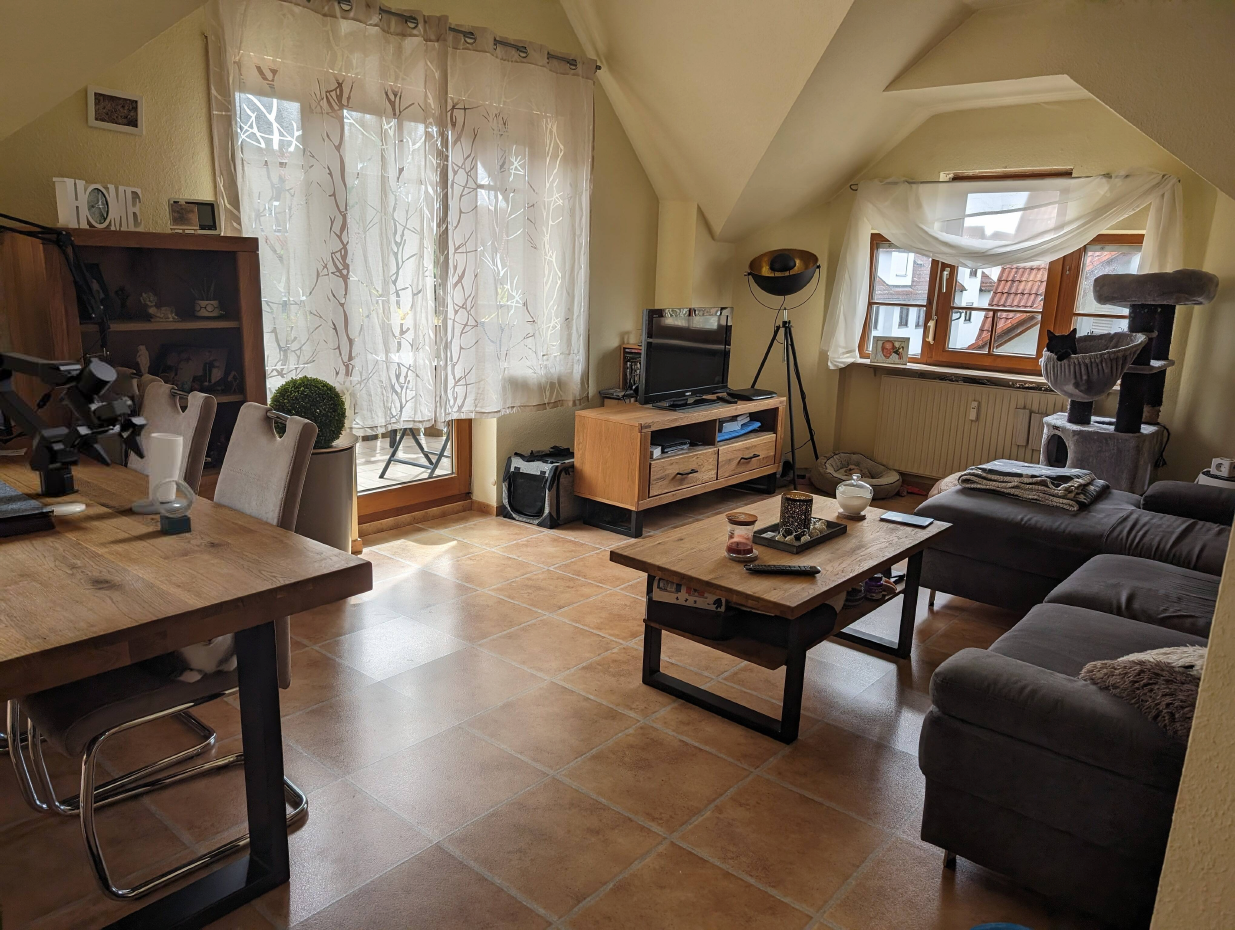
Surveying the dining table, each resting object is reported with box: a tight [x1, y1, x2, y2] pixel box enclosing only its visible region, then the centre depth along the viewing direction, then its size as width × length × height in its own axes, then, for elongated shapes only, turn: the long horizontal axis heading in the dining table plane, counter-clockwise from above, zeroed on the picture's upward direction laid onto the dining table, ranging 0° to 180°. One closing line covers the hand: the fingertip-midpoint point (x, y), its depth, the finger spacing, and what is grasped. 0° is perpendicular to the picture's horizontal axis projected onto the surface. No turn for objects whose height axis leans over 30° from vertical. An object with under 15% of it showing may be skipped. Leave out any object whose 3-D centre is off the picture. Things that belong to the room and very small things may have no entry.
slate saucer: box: [131, 496, 188, 515], centre depth 197 cm, size 11×11×1 cm
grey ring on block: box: [152, 478, 196, 536], centre depth 179 cm, size 6×8×11 cm
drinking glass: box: [148, 432, 184, 502], centre depth 197 cm, size 7×7×15 cm
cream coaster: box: [46, 502, 87, 516], centre depth 192 cm, size 8×8×1 cm
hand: (126, 461), depth 198 cm, fingers open, 9 cm apart
